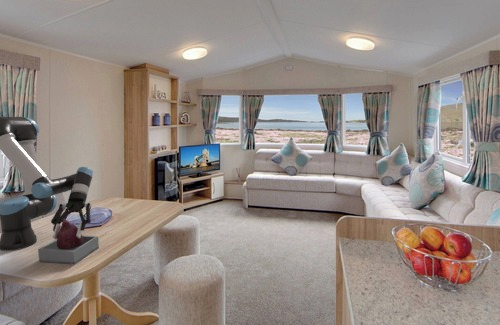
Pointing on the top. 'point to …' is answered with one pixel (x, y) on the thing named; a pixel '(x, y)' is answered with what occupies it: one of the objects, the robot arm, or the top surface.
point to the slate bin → (68, 251)
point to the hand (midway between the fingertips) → (66, 237)
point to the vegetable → (68, 236)
